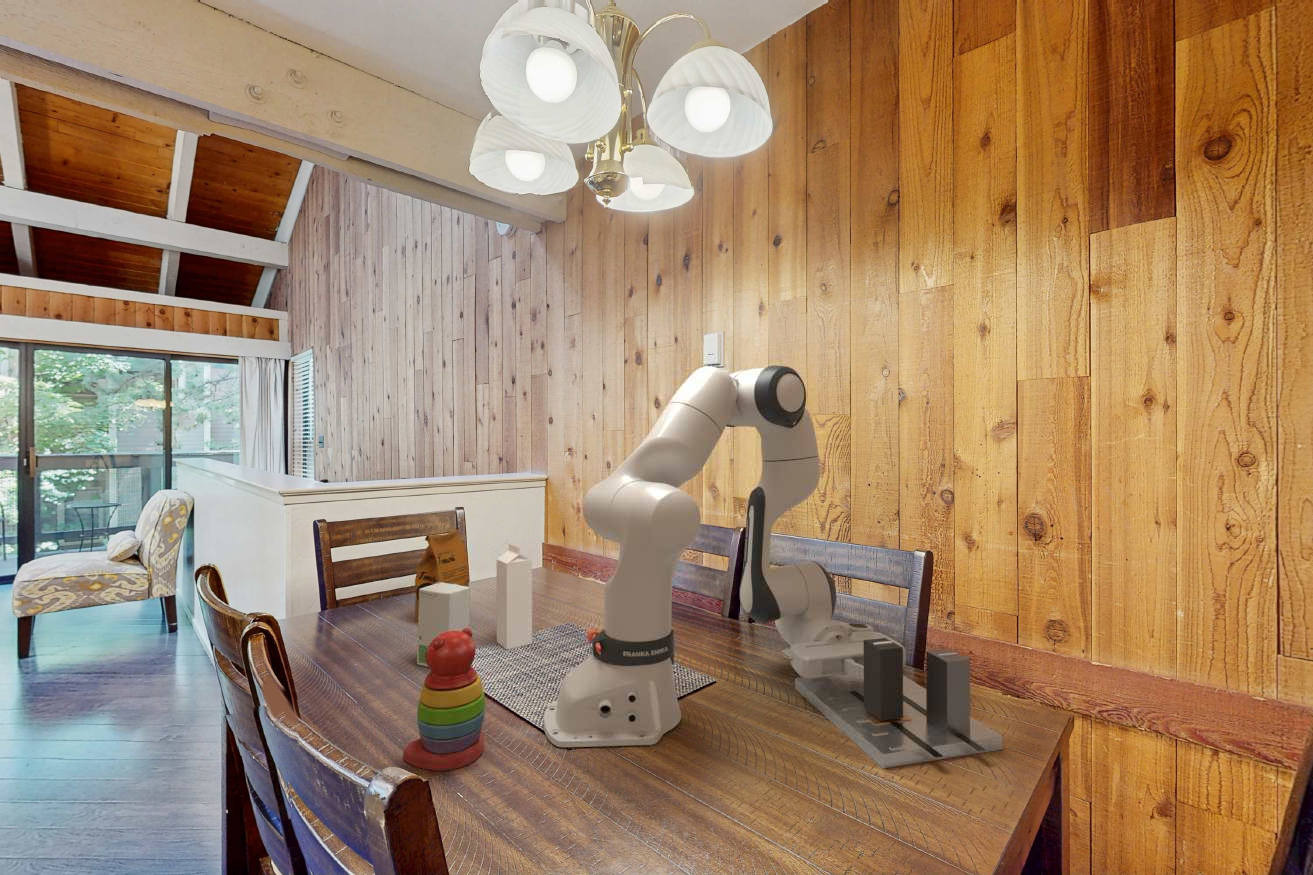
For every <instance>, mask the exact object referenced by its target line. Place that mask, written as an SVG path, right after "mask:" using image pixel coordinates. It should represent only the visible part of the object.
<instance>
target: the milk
mask: <svg viewBox="0 0 1313 875" xmlns="http://www.w3.org/2000/svg"><path fill="white" fill-rule="evenodd" d="M520 553H521V548H520V546H516V545H515V544H512V543H508V550H507V551H505V552H504V553H503V554H501V555H499V557H497V558H496V642H497V644H499V645H500V646H501V647H503V648H504V649H505V650H507V651H508V650H512V649H516V648H520V647H525V646H528V645H532V644H533V560H532V559H530V558H529V557H526V556H524V555H522V554H520Z"/></svg>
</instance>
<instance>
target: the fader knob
mask: <svg viewBox="0 0 1313 875" xmlns="http://www.w3.org/2000/svg"><path fill="white" fill-rule="evenodd" d="M903 676H904V668H903V647H901V646H899V645H897V644H895V643H894V642H892V641H890V640H888V639H886V638H880V639H870V640H864V709H866V710H867V711H868V712H870V713H871V714H872V715H873V716H875V717H876V718H877V719H879V720H880V721H885V720H892V719H899V718H903Z"/></svg>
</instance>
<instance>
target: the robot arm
mask: <svg viewBox="0 0 1313 875" xmlns="http://www.w3.org/2000/svg"><path fill="white" fill-rule="evenodd" d="M806 406H807V391H806V386H805V384H804V381H803V379H802V378H801V376H800V374H799V372H797V371H796V370H795V369H793V368H792V367H789V366H785V365H769V366H767V367H756V368H754V367H753V368H746V369H741V370H739V371H735V372H732V373H728V372H727V371H725V370H724V369H722V368H719V367H715V366H709V365H708V366H707V365H706V366H703V367H699V368H697V369H696V370H695V371H694V372H692V374H691V375H690V376H688V378H687V379H686V380H685V381H684V382H683V383H682V384H681V386H680V387H679V388H678V389H677V390H676V392H675V393H674V395H672V398H671V399H670V401H669V402H668V404H666V406H665V408H664V410H663V411H662V412H661V414H660V415H659V417H658V419H657V420H656V422H655V423H654V425H653V426H652V428H651V430H650V431H649V432H648V434H647V436H645V438H644V440H643V441H642V442H641V443H640V444H639V446H638V447H637V448H636V449H635V450H634V451H632V453H631V454H630V455H629V456H628V457H626V459H625V460H624V461H623V462H621V464H620V465H619V466H618V467H617V468H616V469H615V470H613V472H612V473H611V474H610V475H608V476H607V477H606V478H605V479H603V480H601V481H599V482H598V483H596V484H594V486H592V487H591V488H590V489H589V490H588V492H587V493H586V495H585V497H584V499H583V503H582V513H583V514H582V515H583V519H584V521H585V523H586V524H587V526H588V527H589V528H590V529H591V530H592V531H593V532H595V533H596V534H597V535H598V536H600V537H601V538H602V539H604V540H607V541H610V542H614V543H616V544H619V546H620V547H619V548H620V551H619V557H618V562H617V565H616V567H615V571H614V573H613V574H612V575H611V576H610V577H609V578H608V579H607V580H606V582H605V585H604V628H603V629H602V630H601V631H600V632H599V631H598V629H596V628H590V629H588V631H587V632H586V637H587V640H588V642H589V643H591V646H592V647H591V651H592V653H591V655H589V656H588V657H587V658H586V659H584V661H582V662H581V663H580V664H578V665H577V666H576V667H575V668H573V669H572V670H571V671H570V672H568V673H567V674H566V675H565V676H564V678H563V679H562V682H561V685H560V687H559V692H558V695H557V700H554V701H552V702H551V703H549V705H547V707H546V708H545V711H544V716H543V729H544V733H545V734H544V735H545V736H546V738H547V739H548V741H549V742H551V744H553V745H554V746H556V747H557V748H558V747H559V748H584V747H589V748H590V747H618V746H619V747H621V746H626V747H627V746H653V745H655V744H657V743H659V741H660V740H661V739H662V737H663V735H664V734H666V733H667V732H669V731H671V730H672V729H674V728H675V727H676V726H677V725H678V724H679V723H680V721H681V720H682V710H681V708H680V705H679V700H678V696H677V691H676V686H675V685H676V684H675V677H674V664H675V655H676V654H675V652H676V651H675V650H676V646H675V644H676V643H675V642H676V641H675V636H674V634H675V633H674V630H673V629H672V596H673V594H672V593H673V584H674V583H673V582H674V577H675V573H676V571H677V570H676V569H677V567H678V563H679V561H680V559H681V557H682V555H683V553H684V552H685V551H686V550H687V549H688V548H690V547H691V545H692V544H693V543H694V542H695V540H696V538H697V536H698V534H699V533H700V528H701V522H702V521H701V520H702V519H701V511H700V508H699V507H700V506H699V505H698V503H697V502H696V500H695V498H694V497H693V496H692V495H690V494H689V493H687V492H686V491H684V490H682V489H680V487H681V486H682V485H684V484H685V483H686V482H688V481H690V480H692V479H694V478H695V477H696V476H698V475H699V474H700V473H701V472H702V470H703V468H704V466H705V464H706V463H707V461H708V459H709V458H710V456H711V455H712V452H713V451H714V449H715V447H716V445H717V444H718V442H719V441H720V439H721V436H722V435H723V433H724V432H725V430H726V427H729V428H736V427H750V428H755V429H756V431H757V432H758V434H759V436H760V449H761V450H760V451H761V463H762V464H761V475H760V478H759V481H758V484H757V485H756V487H755V488H754V489H753V490H752V491H751V492H750V494H749V498H748V502H747V509H746V521H745V536H744V550H743V551H744V552H743V567H742V573H741V578H740V583H739V584H740V585H739V601H740V606H741V608H742V611H743V612H744V613H745V614H746V615H747V616H748V617H749V618H751V619H752V620H754V621H756V622H757V623H760V624H761V625H762V624H763V625H765V624H769V623H772V622H774V623H775V627H776V629H777V631H778V633H779V634H780V636H781V637H782V639H783V640H784V641H785V642H786V643H787V644H788V645H789V646H787V647H785V649H782V650H781V654H782V657H784V658H785V659H786V660H789V661H790V666H791V667H792V669H794V671H795V672H796V673H797V674H798V675H799V676H800V678H802V677H804V678H808V679H811V678H820V677H829V676H838V675H847V674H849V675H853V676H858V677H861V678H862V679H864V640H870V639H880V638H886V639H888V640H890V641H892V642H894V643H895V644H897V645H899V646H901V647H903V669H904V668H905V667H906V660H907V659H906V658H907V657H906V656H907V654H906V649H905V646H903V645H902V644H901V643H900V642H898V641H896V640H894V639H893V638H891V637H890V636H888V635H886V634H884V633H881V632H878V631H875V629H874V627H873V626H872V625H870V624H864V623H863V624H862V623H851V622H845V621H840V620H838V619H837V620H834V619H833V616H834V615H835V614H834V613H835V608H836V604H837V590H836V585H835V581H834V579H833V578H832V576H831V574H830V573H829V572H828V571H827V569H826V568H824V566H822V564H820V563H819V562H816V561H814V560H810V561H808V560H807V561H804V562H797V563H791V564H788V565H781V566H776V567H770V556H771V555H770V552H771V539H772V538H771V536H772V530H773V527H774V525H775V523H776V522H777V521H778V519H779V518H781V517H782V516H783V515H784V514H785V513H786V512H789V510H791V509H793V508H795V507H797V506H798V505H800V504H802V503H803V502H804V501H806V500H807V499H808V498H809V497H811V496H812V494H813V493H814V492H815V490H816V488H818V486H819V483H820V477H821V465H820V456H819V447H818V442H817V436H816V431H815V428H814V425H813V421H812V416H811V415H810V412H809V410H808V409H807V407H806Z"/></svg>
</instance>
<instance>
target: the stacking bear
mask: <svg viewBox="0 0 1313 875" xmlns="http://www.w3.org/2000/svg"><path fill="white" fill-rule="evenodd" d="M472 637H473V631H472V629H470V627H469V628H464V629H463V630H462V631H448V632H444V633H442V634H440V635H438V636H437V637H436V638H434V639H433V641H432V642H431V643H430V644H429V646H428V647H427V649H426V651H425V660H426V663H427V665H428V667H427V668H429V670H430V671H429V673H428V674H426V677H425V678H424V683H423V684H422V688H421V691H420V697H419V700H418V704H417V712H416V715H417V717H416V718H417V725H418V726H417V727H418V731H419V737H420V738H417V739H415V740H413V741H411V742H410V743H409V744H407V745H406V747H405V748H404V750H403V759H404V761H405V762H407V763H408V764H409V765H412V766H414V767H417V768H419V769H424V770H430V771H449V770H450V771H451V770H454V769H455V770H456V769H458V768H462V767H465V766H467V765H469V764H471V763H472V762H475V760H477V759H478V758H479V757H480V756H481V755H482V754H483V752H484V749H485V740H484V735H483V732H482V728H483V722H484V719H485V715H486V714H485V713H486V697H485V692H484V688H483V683H482V679H481V676H480V675H479V674H478V673H477V671H476V669H475V668H474V667H472V665H473V663H474V660H475V656H476V644H475V642H474V640H473V638H472Z"/></svg>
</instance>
